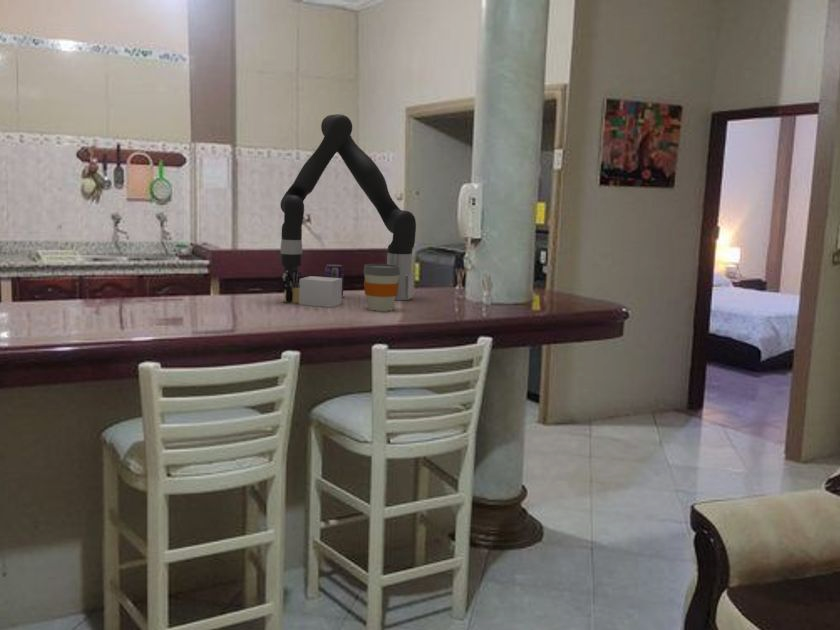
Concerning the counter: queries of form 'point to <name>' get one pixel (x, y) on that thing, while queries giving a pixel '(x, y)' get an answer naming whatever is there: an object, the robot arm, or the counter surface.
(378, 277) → the reusable coffee cup
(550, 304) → the counter surface
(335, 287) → the light grey block
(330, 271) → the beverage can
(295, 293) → the yellow sponge block
